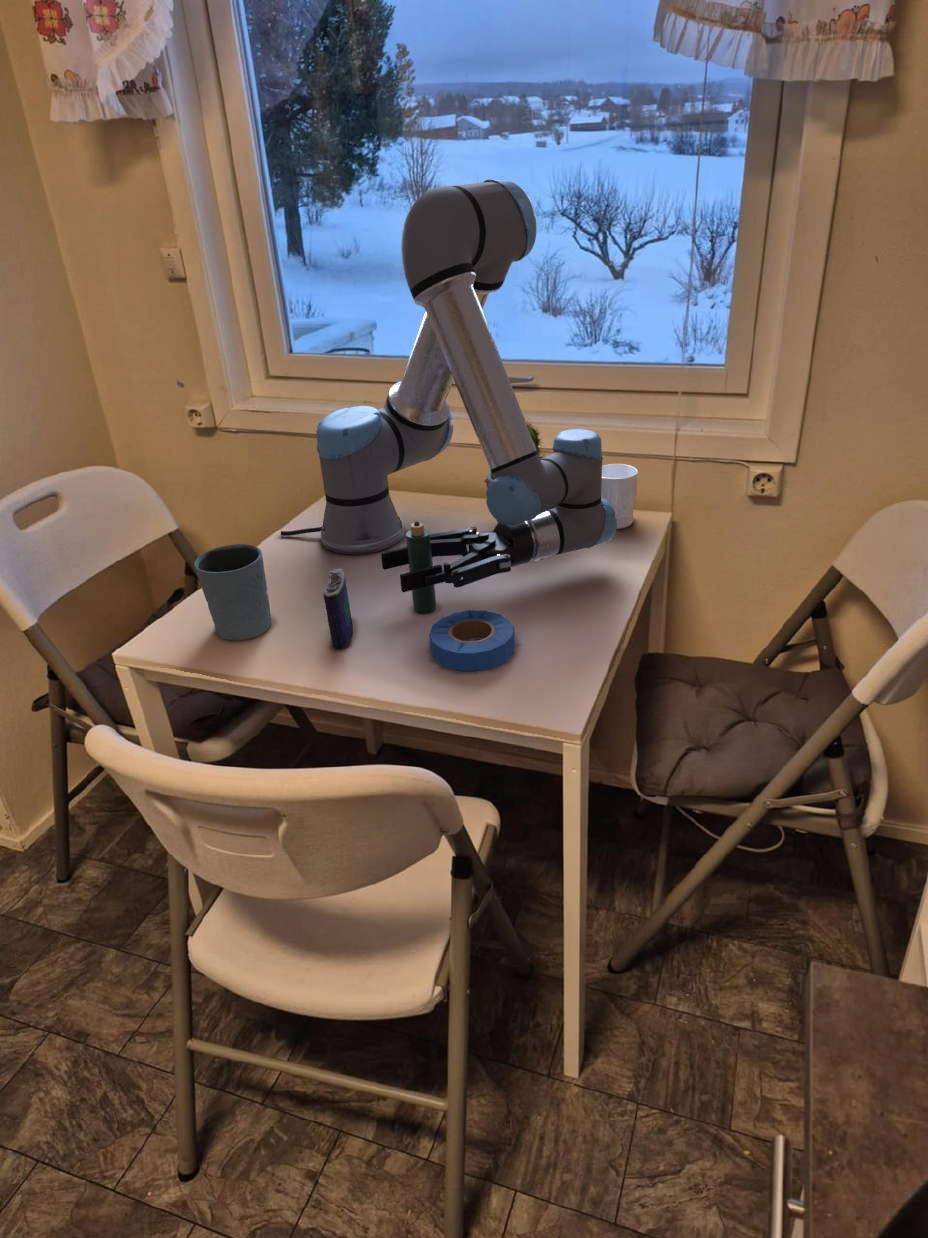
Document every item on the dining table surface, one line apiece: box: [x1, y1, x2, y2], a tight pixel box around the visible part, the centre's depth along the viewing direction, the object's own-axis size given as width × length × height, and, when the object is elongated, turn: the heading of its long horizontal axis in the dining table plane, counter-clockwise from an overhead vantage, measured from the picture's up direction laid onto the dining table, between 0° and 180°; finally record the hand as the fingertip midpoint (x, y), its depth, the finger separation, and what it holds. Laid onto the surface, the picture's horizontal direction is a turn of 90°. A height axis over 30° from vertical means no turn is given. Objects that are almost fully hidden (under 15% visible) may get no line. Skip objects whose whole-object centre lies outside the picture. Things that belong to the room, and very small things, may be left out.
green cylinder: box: [405, 521, 437, 615], centre depth 132 cm, size 4×4×15 cm
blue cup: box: [194, 543, 272, 642], centre depth 131 cm, size 10×10×12 cm
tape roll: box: [429, 609, 516, 672], centre depth 123 cm, size 12×12×3 cm
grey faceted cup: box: [601, 463, 639, 530], centre depth 157 cm, size 8×8×10 cm
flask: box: [322, 568, 354, 651], centre depth 127 cm, size 9×3×11 cm, turn 1°
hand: (391, 572), depth 130 cm, fingers open, 8 cm apart
